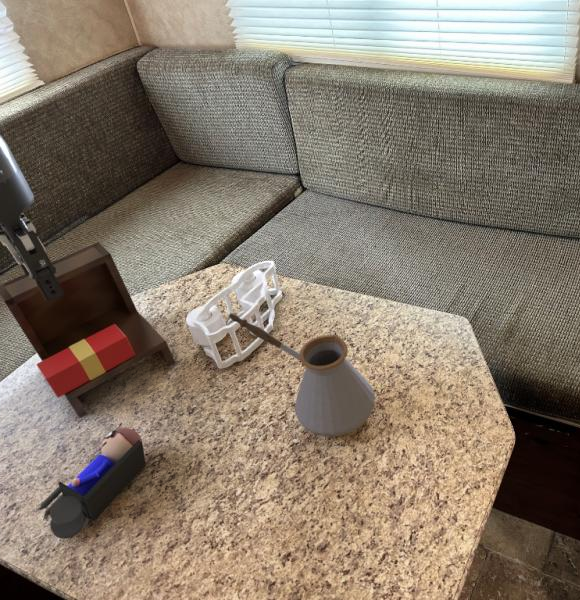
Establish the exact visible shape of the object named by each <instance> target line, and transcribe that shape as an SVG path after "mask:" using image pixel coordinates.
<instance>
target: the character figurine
mask: <svg viewBox="0 0 580 600" xmlns="http://www.w3.org/2000/svg"><path fill="white" fill-rule="evenodd" d="M146 466H147V463H146V456H145V451H144V444H143V439H142V437H141V435H140V434H139V433H138V431H136V430H134V429H132V428H129V427H119V428H116V429H114V430H112V431H110V432H109V433H107V434H106V436H105V438H104V439H103V441H102V443H101V454H98V455H97V456H96V457H95V458H94V459H93V460H91V462H89V464H88V465H87V466H86V467H85V468H84V469H83V470H81V472H80V473H79V474H78V475H77V476H76V477H74V478H73V479H72V480H71V482H70V483H68V485H67V484H65V483H63V481H59V482H58V487H56V488H55V490H54V491H52V493H50V494H49V495H48V496H47V497H46V499H44V500H43V502H41V504H40V506H39V511H41V510H44V514H43V518H46V517H48V516H50V518H51V520H50V525H49V526H50V530H51V532H52V534H53V535H54V536H55V537H56V538H59V539H61V540H66V539H71V538H73V537H75V536H77V535H79V534H80V533H81V532H82V531H83V529H84V528H85V525H86V519H88V520H89V521H90V520H91V521H92V522H95V521H96V520H97V519H98V518H99V517H101V515H102V514H103V513H104V512H105V511H106V510H107V508H108V507H109V506H110V505H111V504H112V503H113V502H114V501H115V500H116V499H117V498H118V497H119V496H120V495H121V493H122V492H123V491H124V490H125V489H126V488H127V487H128V486H129V484H131V482H132V481H133V480H134V479H135V478H136V477H137V476H138V475H139V474H140V473H141V472H142V470H144V469H145V467H146ZM60 494H61V495H60ZM56 498H57V499H56ZM49 505H50V506H49ZM45 509H46V510H45Z"/></svg>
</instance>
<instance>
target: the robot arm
mask: <svg viewBox="0 0 580 600" xmlns="http://www.w3.org/2000/svg"><path fill="white" fill-rule="evenodd" d="M34 201H35V196H34V193H33V191H32V190H31V186H30V185H29V184H28V181H27V180H26V177H25V176H24V174H23V172H22V170H21V168H20V167H19V164H18V163H17V159H16V158H15V157H14V155H13V153H12V150H11V148H10V146H9V145H8V143H7V142H6V141H5V138H4V137H3V136H2V135H1V134H0V243H1V244H2V246H3V247H6V248H7V250H8V251H9V252H10V254H11V255H12V257H13V258H14V260H15V261H16V263H17V264H18V265H19V266H20V268H21V270H22V271H23V273H24V274H26V275H28V276H30V277H31V278H33V280H35V282H36V284H37V286H38V287H39V289H40V291H41V293H42V294H43V296H44V298H45V299H46V300H47V301H48V302H51V301H53V300H55V299H57V298H60V297H62V296H63V295H64V292H63V290H62V288H61V286H60V284H59V283H58V281H57V279H56V277H55V275H54V274H55V273H57V272H56V268H55V267H54V266H53V265H52V263H51V262H52V261H51V260H50V257H49V255H48V254H47V249H46V247H45V246H44V243H42V241H41V239H40V237H39V236H38V235H39V234H38V233H37V229H36V227H35V225H34V224H33V222H32V221H31V219H28V218H27V216H26V214H25V213H24V212H25V211H26V210H28V209H29V208H30V207H31V206H32V204H33V203H34ZM40 261H41V262H42V264H43V265H42V264H41V262H40Z"/></svg>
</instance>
